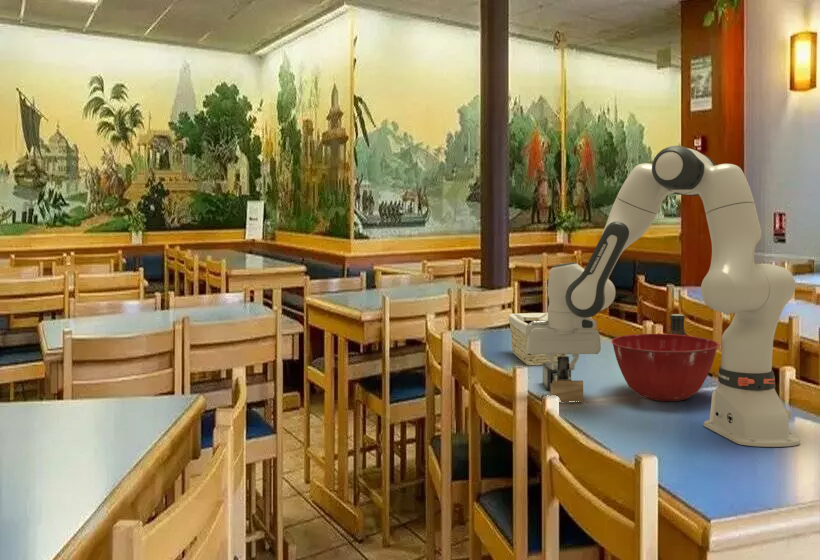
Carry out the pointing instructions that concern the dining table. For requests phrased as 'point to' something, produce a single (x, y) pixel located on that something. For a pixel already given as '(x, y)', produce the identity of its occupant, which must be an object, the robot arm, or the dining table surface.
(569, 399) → the brown wooden block
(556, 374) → the dark grey upright block
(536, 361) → the storage basket
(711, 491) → the dining table surface
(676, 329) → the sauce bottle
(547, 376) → the sleeve
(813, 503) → the dining table surface
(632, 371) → the mixing bowl
